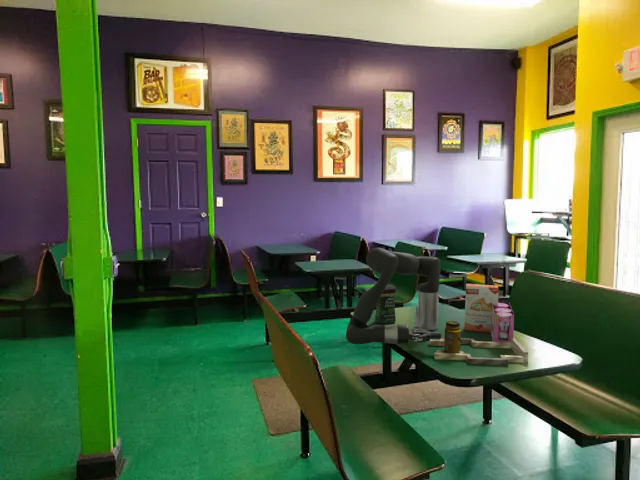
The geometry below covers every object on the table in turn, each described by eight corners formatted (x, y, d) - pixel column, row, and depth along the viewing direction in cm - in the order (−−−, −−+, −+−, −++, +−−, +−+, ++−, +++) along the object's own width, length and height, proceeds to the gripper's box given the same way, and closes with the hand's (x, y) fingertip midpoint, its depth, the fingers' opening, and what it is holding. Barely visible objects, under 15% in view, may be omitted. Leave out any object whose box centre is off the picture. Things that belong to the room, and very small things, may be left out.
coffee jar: (380, 325, 213) (380, 287, 211) (372, 321, 220) (373, 284, 218) (398, 323, 216) (398, 285, 214) (390, 319, 223) (390, 282, 222)
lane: (436, 362, 165) (436, 352, 165) (428, 341, 189) (428, 332, 189) (531, 366, 161) (531, 355, 161) (511, 344, 185) (511, 335, 185)
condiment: (464, 352, 176) (465, 323, 175) (450, 357, 171) (451, 326, 170) (450, 347, 182) (450, 318, 181) (435, 351, 177) (436, 322, 176)
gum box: (513, 348, 180) (515, 315, 179) (492, 346, 183) (494, 314, 181) (508, 331, 203) (509, 302, 202) (490, 329, 205) (491, 300, 204)
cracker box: (464, 330, 204) (465, 285, 202) (464, 327, 210) (465, 283, 208) (497, 333, 200) (498, 287, 198) (496, 329, 206) (498, 284, 203)
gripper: (397, 329, 172) (443, 331, 169) (395, 320, 185) (438, 321, 182) (396, 348, 172) (443, 350, 170) (395, 338, 185) (438, 339, 183)
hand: (440, 335), depth 176 cm, fingers closed
